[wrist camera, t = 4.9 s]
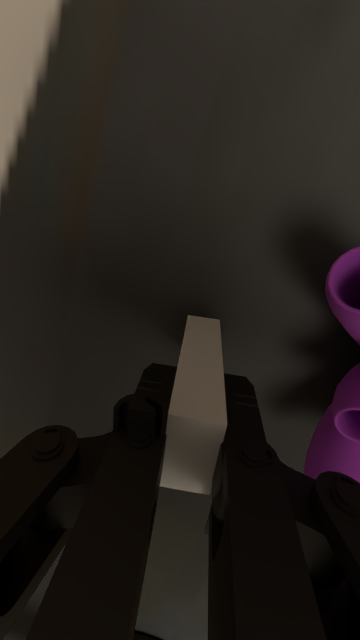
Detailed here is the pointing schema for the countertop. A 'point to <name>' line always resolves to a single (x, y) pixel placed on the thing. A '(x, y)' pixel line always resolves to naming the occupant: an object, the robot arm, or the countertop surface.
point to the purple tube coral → (353, 390)
